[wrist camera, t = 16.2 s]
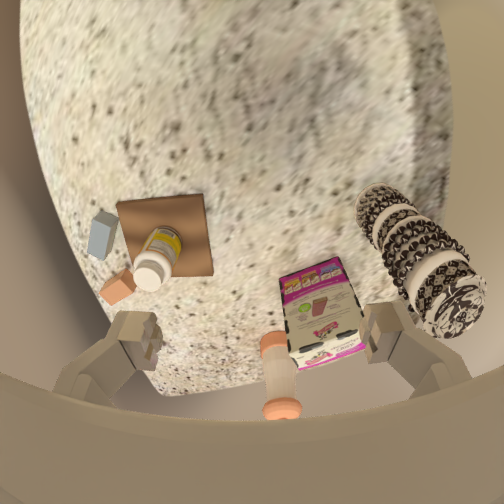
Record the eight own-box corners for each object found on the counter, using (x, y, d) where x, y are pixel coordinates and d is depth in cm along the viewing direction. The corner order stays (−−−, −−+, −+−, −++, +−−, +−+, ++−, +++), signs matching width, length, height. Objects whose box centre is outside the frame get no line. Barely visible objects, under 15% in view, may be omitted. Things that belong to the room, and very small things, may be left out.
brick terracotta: (126, 267, 48) (120, 279, 45) (139, 280, 49) (133, 292, 46) (105, 282, 50) (98, 293, 47) (117, 294, 51) (111, 305, 48)
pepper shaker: (265, 354, 60) (267, 432, 43) (256, 334, 56) (256, 418, 40) (297, 348, 59) (306, 426, 42) (291, 327, 55) (300, 412, 39)
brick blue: (102, 209, 41) (92, 219, 38) (119, 217, 42) (110, 227, 39) (95, 242, 45) (87, 252, 42) (111, 249, 46) (103, 260, 43)
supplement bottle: (158, 258, 45) (139, 299, 36) (144, 230, 42) (120, 267, 33) (188, 251, 44) (173, 293, 35) (175, 221, 41) (155, 258, 32)
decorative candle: (410, 211, 41) (500, 313, 20) (368, 243, 44) (434, 362, 23) (386, 169, 37) (496, 260, 16) (340, 203, 41) (414, 324, 20)
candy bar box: (288, 297, 51) (297, 372, 37) (277, 278, 48) (285, 354, 34) (346, 276, 48) (373, 347, 34) (339, 254, 46) (369, 326, 32)
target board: (118, 201, 41) (115, 204, 40) (202, 193, 40) (201, 196, 39) (138, 273, 48) (136, 277, 47) (213, 271, 48) (212, 276, 47)
